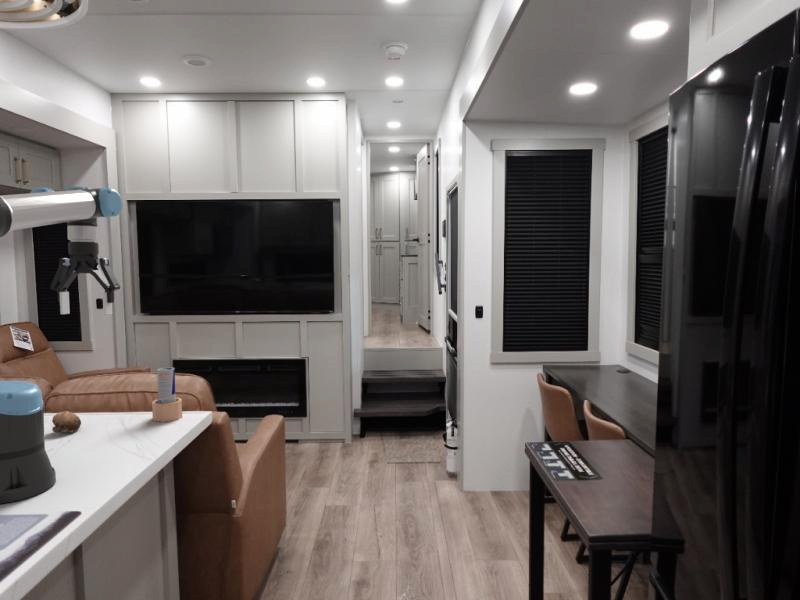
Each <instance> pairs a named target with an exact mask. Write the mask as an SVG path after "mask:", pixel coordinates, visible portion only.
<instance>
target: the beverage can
mask: <svg viewBox="0 0 800 600" xmlns="http://www.w3.org/2000/svg"><path fill="white" fill-rule="evenodd" d="M156 370H157V371H156V375H157V380H156V381H157V399H158V404H168V403H173V402H176V398H177V397H176V372H175V370H176V369H175V367H170V366H169V367H166V366H165V367H160V368H157V369H156Z"/></svg>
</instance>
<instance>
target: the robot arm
mask: <svg viewBox="0 0 800 600" xmlns="http://www.w3.org/2000/svg"><path fill="white" fill-rule="evenodd" d="M123 206H124V205H123V199H122V196H121V195H120V193H119V192H118V190H116V189H114V188H105V187H100V188H91V187H86V186H68V187H66V189H61V188H60V189H53V188H50V187H36V188H34V189H32V190H31V191H30V192H29V193H18V194H17V193H16V194H6V195H4V194H2V195H0V238H3V237H5V236H7V235H8V234H10V232H12V231H17V230H18V231H19V230H24V229H31V228H36V227H42V226H43V227H44V226H49V225H56V224H62V223H67V224H66V225H67V240H68V241H69V242H68V243H67V246H68V249H67V251H68V254H69V256H70V257H69V258H68V257H60V258H59V261H58V262H59V263H58V267H57V270H56V272H55V275H54V278H53V280H52V281H51V284H50V290H54V291H56V293H57V302H58V303H59V307H60V308H59V311H60V315H68V314H69V315H70V311H71V309H70V292H69V291H68V290H67V289H68V288H69V287H70V286H71V284H72V283H73V282H74V280H75V278H77V276H78V275H80V274H90V275H92V276H93V278H94V279H95V280H96V281H97V283H98V284H99V285H100V286H101V287H102V288H103V290H104V291H103V292H102V302H103V316H104V315H105V316H106V315H113V303H115V292H116V291H117V290H120V289H121V286H120V283H119V281H118V279H117V278H116V276H115V273H114V272H113V270H112V267H111V266H110V260H109V258H108V257H100V258H99V256H98V255H99V253H100V251H99V247H100V246H99V243H98V242H97V241H98V240H99V231H98V229H99V228H98V218H109V217H111V218H112V217H117V216H119V215H120V214H121V213H122V210H123ZM98 265H99V266H98ZM69 267H70V268H69ZM99 267H100V268H99ZM44 404H45V403H44V399H43V395H42V390H41V387H39V386H38V385H37V384H36V383H34V382H30V381H25V380H18V379H16V380H14V379H13V380H5V379H3V380H2V379H1V380H0V504H1V505H2V504H9V503H12V502H17V501H22V500H26V499H28V498H31V497H34V496H37V495H39V494H41V493H42V494H43V493H44V492H46V491H48V490H49V489H51V488H52V487H54V485H55V484H56V482H57V478H56V477H57V476H56V474H57V473H56V470H55V468H54V466H52V463H51V461H50V458H49V455H48V453H47V451H46V447H45V446H46V444H45V420H44V419H45V417H44V416H45V412H44Z"/></svg>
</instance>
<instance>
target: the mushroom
mask: <svg viewBox="0 0 800 600" xmlns="http://www.w3.org/2000/svg"><path fill="white" fill-rule="evenodd" d="M51 421H52V423H53V427H52V432H54V433H58V434H59V433H60V434H61V433H63V432H66V433H76V432H77V431H78V430H79V429H80V428H81V425H82V421H81V419H80V417H79V415H77V414H75V413H74V412H70V411H69V410H67V411H60V412H58V413H56V414H55V415H53V418H52V420H51Z"/></svg>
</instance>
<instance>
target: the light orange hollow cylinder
mask: <svg viewBox="0 0 800 600" xmlns="http://www.w3.org/2000/svg"><path fill="white" fill-rule="evenodd" d="M182 399H183V398H180V397H176V402H173V403H168V404H158V398H157V399H154V400H152V403H151V407H152V409H151V410H152V411H151V412H152V421H153V420H154V421H153V422H156V421H161V422H160V423H164V422H165V421H167V422H173V421H176V419H177V420H180V419H181V418H183V400H182ZM179 418H180V419H179ZM172 420H173V421H172Z"/></svg>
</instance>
